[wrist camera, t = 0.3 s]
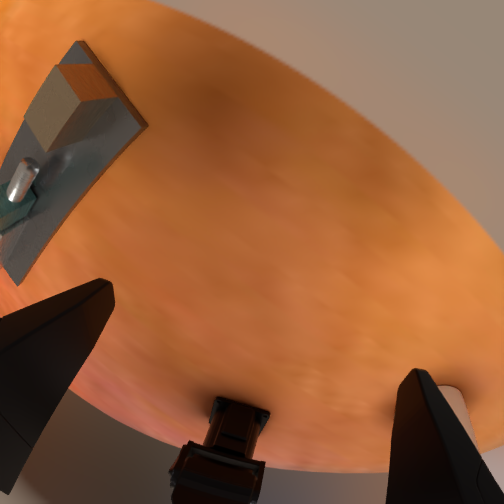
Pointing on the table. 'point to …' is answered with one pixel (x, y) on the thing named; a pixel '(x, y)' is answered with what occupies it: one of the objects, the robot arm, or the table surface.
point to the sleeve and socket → (65, 150)
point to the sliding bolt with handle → (18, 193)
